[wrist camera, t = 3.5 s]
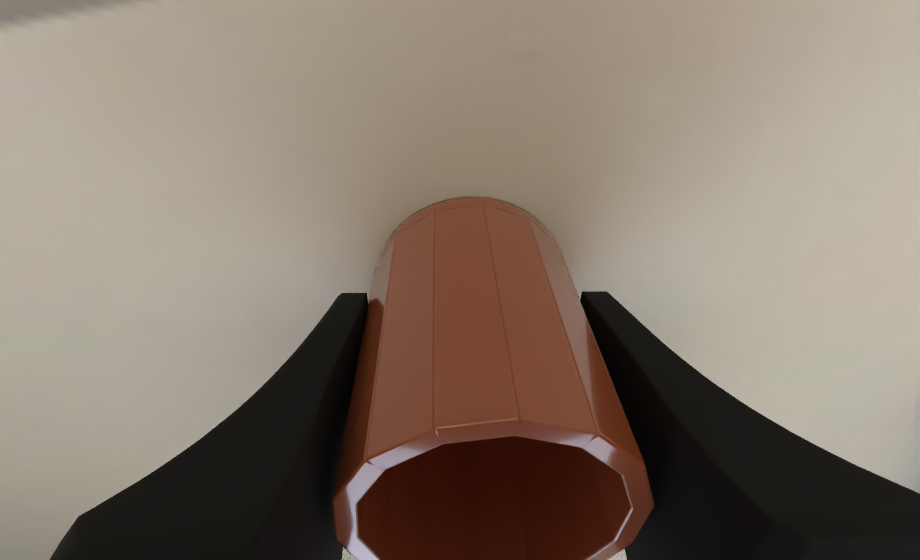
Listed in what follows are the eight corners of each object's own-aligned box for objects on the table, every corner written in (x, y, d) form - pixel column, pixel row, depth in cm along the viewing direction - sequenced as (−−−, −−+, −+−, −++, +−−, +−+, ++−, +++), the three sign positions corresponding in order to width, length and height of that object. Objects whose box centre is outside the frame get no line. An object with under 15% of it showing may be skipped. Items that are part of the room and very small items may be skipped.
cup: (346, 308, 14) (284, 559, 8) (436, 157, 12) (436, 369, 6) (494, 370, 16) (527, 613, 10) (600, 249, 13) (725, 483, 8)
